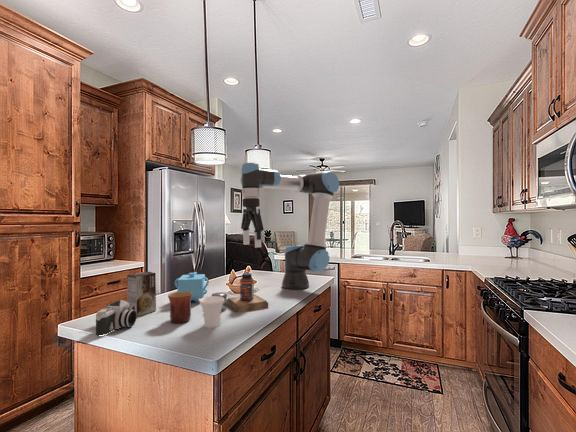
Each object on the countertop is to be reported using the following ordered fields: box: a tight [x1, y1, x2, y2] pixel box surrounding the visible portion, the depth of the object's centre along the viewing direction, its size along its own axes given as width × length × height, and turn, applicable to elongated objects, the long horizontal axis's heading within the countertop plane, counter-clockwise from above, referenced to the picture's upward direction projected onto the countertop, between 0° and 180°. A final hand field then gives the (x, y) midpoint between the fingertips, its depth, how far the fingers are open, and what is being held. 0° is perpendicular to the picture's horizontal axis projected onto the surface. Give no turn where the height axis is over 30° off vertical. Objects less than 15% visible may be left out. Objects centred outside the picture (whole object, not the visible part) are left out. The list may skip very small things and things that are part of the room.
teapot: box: [174, 271, 210, 304], centre depth 150 cm, size 18×16×13 cm
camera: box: [95, 299, 137, 338], centre depth 110 cm, size 16×9×10 cm, turn 176°
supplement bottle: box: [239, 272, 255, 301], centre depth 137 cm, size 6×6×11 cm
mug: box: [167, 291, 193, 325], centre depth 119 cm, size 12×9×10 cm
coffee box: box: [126, 270, 157, 318], centre depth 129 cm, size 9×6×16 cm
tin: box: [211, 291, 228, 312], centre depth 132 cm, size 6×6×7 cm
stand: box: [227, 294, 269, 314], centre depth 137 cm, size 14×14×3 cm
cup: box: [199, 295, 224, 329], centre depth 112 cm, size 9×9×10 cm
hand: (252, 246), depth 139 cm, fingers open, 13 cm apart
